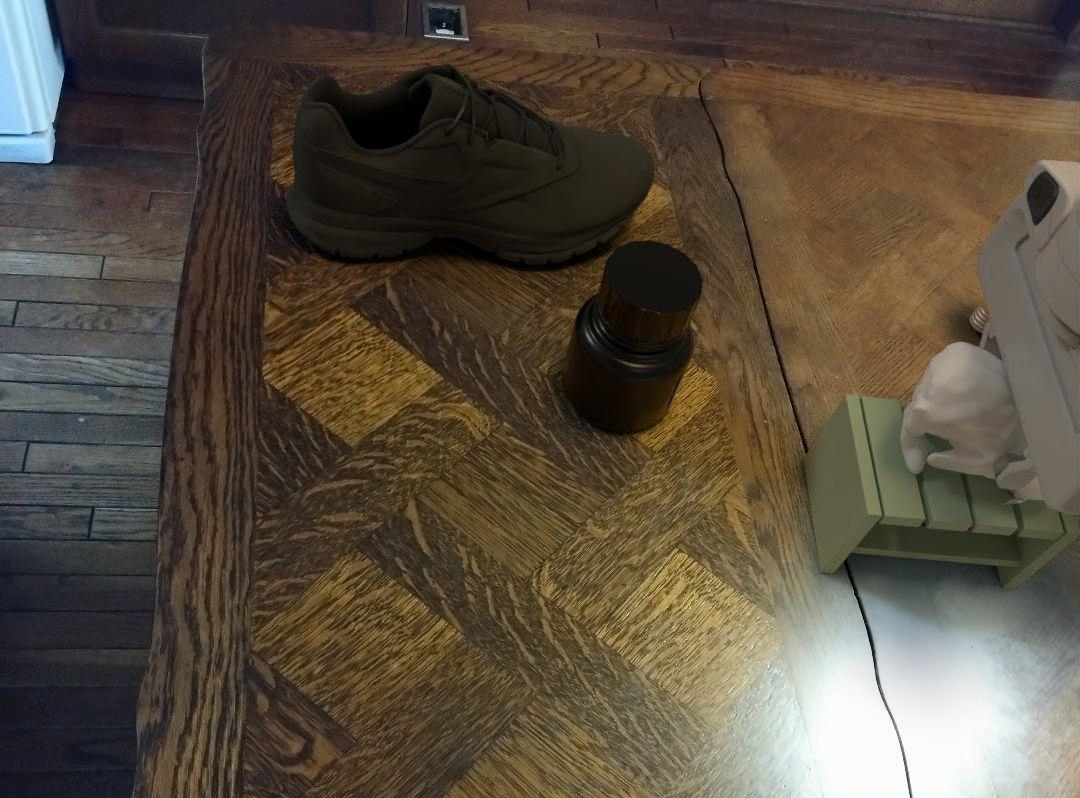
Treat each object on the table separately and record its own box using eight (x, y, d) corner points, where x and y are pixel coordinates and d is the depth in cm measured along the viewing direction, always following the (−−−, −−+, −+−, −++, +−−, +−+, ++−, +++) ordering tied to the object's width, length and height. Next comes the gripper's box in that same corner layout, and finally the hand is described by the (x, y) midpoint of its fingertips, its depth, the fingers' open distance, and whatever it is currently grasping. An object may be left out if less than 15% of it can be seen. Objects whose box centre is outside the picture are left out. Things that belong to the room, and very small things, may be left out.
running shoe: (657, 263, 84) (703, 125, 73) (300, 290, 77) (287, 142, 65) (619, 172, 90) (657, 30, 78) (281, 189, 82) (267, 36, 71)
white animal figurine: (965, 310, 62) (1133, 409, 61) (892, 390, 69) (1042, 479, 69) (938, 374, 59) (1115, 479, 58) (865, 450, 66) (1021, 544, 66)
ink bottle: (696, 415, 76) (747, 306, 66) (602, 454, 73) (640, 346, 63) (628, 328, 80) (667, 212, 70) (536, 361, 77) (562, 244, 67)
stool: (984, 477, 78) (1044, 415, 71) (1014, 589, 73) (1081, 534, 66) (802, 459, 76) (845, 393, 69) (820, 573, 71) (868, 514, 64)
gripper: (1253, 436, 47) (1078, 572, 59) (1129, 155, 58) (1001, 319, 70) (1133, 423, 47) (980, 563, 59) (1029, 141, 57) (917, 309, 69)
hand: (991, 428), depth 64 cm, fingers closed on white animal figurine, 6 cm apart
